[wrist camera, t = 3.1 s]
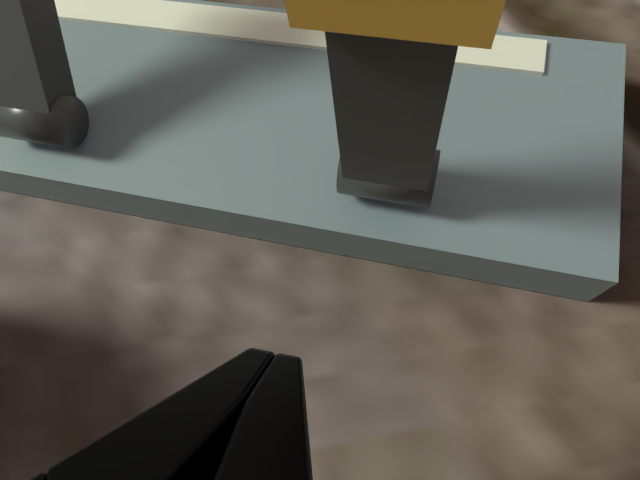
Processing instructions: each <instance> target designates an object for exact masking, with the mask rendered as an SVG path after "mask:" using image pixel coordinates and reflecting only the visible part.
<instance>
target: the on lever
mask: <svg viewBox="0 0 640 480" xmlns="http://www.w3.org/2000/svg"><path fill="white" fill-rule="evenodd" d="M88 129H89V115H88V111H87V108H86V106H85V105H84V103H83V102H82V101H81V100H80V99H79V98H77V96H76V92H75V88H74V83H73V79H72V75H71V70H70V66H69V62H68V57H67V53H66V49H65V44H64V40H63V36H62V31H61V27H60V23H59V18H58V14H57V10H56V5H55V1H54V0H0V137H5V138H11V139H17V140H23V141H29V142H35V143H41V144H47V145H53V146H59V147H65V148H76V147H78V146H79V145H81V144H82V143H83V141H84V140H85V138H86V136H87V133H88Z"/></svg>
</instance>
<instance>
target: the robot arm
mask: <svg viewBox="0 0 640 480" xmlns="http://www.w3.org/2000/svg"><path fill="white" fill-rule="evenodd" d="M30 480H313V477H312V466H311V455H310V444H309V433H308V422H307V411H306V400H305V388H304V377H303V366H302V360H301V358H299V357H296V356H291V355H286V354H277V355H275V354H274V353H273V352H270V351H265V350H260V349H255V348H250V349H248V350H246V351H244V352H242V353H241V354H239V355H237V356H236V357H234V358H232V359H231V360H229V361H227V362H226V363H224V364H222V365H221V366H219V367H217V368H216V369H214V370H212V371H211V372H209V373H207V374H206V375H204V376H202V377H201V378H199V379H197V380H196V381H194V382H192V383H191V384H189V385H187V386H186V387H184V388H182V389H181V390H179V391H177V392H176V393H174V394H172V395H171V396H169V397H167V398H166V399H164V400H162V401H161V402H159V403H157V404H156V405H154V406H152V407H151V408H149V409H147V410H146V411H144V412H142V413H141V414H139V415H137V416H136V417H134V418H132V419H131V420H129V421H127V422H126V423H124V424H122V425H121V426H119V427H117V428H116V429H114V430H112V431H111V432H109V433H107V434H106V435H104V436H102V437H101V438H99V439H97V440H96V441H94V442H93V443H91V444H89V445H88V446H86V447H84V448H83V449H81V450H79V451H78V452H76V453H74V454H73V455H71V456H69V457H68V458H66V459H64V460H63V461H61V462H59V463H58V464H56V465H54V466H53V467H51V468H50V469H49V470H48V472H47V474H46V473H40V474H39V475H37V476H35V477H34V478H32V479H30Z"/></svg>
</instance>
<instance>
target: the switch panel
mask: <svg viewBox="0 0 640 480" xmlns="http://www.w3.org/2000/svg"><path fill="white" fill-rule="evenodd" d="M54 1H55V5H56V10H57V14H58V18H59V23H60V27H61V31H62V36H63V40H64V44H65V49H66V53H67V57H68V62H69V66H70V70H71V75H72V79H73V83H74V88H75V92H76V96H77V98H79V99H80V100H81V101H82V102H83V103H84V105H85V106H86V108H87V111H88V115H89V129H88V133H87V136H86V138H85V140H84V141H83V143H82V144H81V145H79V146H78V147H76V148H65V147H59V146H53V145H47V144H41V143H35V142H29V141H23V140H17V139H11V138H5V137H0V190H2V191H7V192H12V193H18V194H23V195H28V196H34V197H39V198H44V199H49V200H55V201H60V202H65V203H70V204H76V205H81V206H86V207H91V208H97V209H102V210H107V211H112V212H118V213H123V214H128V215H134V216H139V217H144V218H149V219H155V220H160V221H165V222H170V223H176V224H181V225H186V226H191V227H197V228H202V229H207V230H213V231H218V232H223V233H228V234H234V235H239V236H244V237H249V238H255V239H260V240H265V241H270V242H276V243H281V244H286V245H291V246H297V247H302V248H307V249H313V250H318V251H323V252H328V253H334V254H339V255H344V256H349V257H355V258H360V259H365V260H370V261H376V262H381V263H386V264H391V265H397V266H402V267H407V268H413V269H418V270H423V271H428V272H434V273H439V274H444V275H449V276H455V277H460V278H465V279H470V280H476V281H481V282H486V283H491V284H497V285H502V286H507V287H513V288H518V289H523V290H528V291H534V292H539V293H544V294H549V295H555V296H560V297H565V298H570V299H576V300H581V301H586V302H589V301H590V300H592V299H593V298H595V297H597V296H598V295H600V294H601V293H603V292H604V291H606V290H608V289H609V288H611V287H612V286H614V285H616V284H617V283H618V281H619V249H620V217H621V185H622V154H623V122H624V90H625V58H626V44H619V43H609V42H600V41H590V40H580V39H570V38H561V37H551V36H541V35H531V34H521V33H512V32H502V31H496V35H495V38H494V41H493V44H492V48H491V49H482V48H473V47H463V46H458V50H457V54H456V59H455V64H454V68H453V73H452V78H451V82H450V87H449V91H448V96H447V101H446V105H445V110H444V115H443V119H442V124H441V129H440V133H439V138H438V143H437V147H436V149H437V150H441V152H440V159H439V165H438V170H437V176H436V181H435V186H434V191H433V196H432V201H431V205H430V209H429V208H423V207H417V206H411V205H405V204H399V203H393V202H387V201H381V200H375V199H369V198H363V197H357V196H351V195H345V194H339V193H337V188H336V181H337V170H338V163H339V158H340V152H339V144H338V136H337V128H336V120H335V112H334V103H333V95H332V87H331V79H330V71H329V63H328V55H327V47H326V38H325V31H316V30H307V29H298V28H290V26H289V21H288V17H287V12H286V9H277V8H267V7H257V6H248V5H238V4H228V3H218V2H208V1H199V0H54Z"/></svg>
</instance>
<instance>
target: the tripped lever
mask: <svg viewBox="0 0 640 480" xmlns="http://www.w3.org/2000/svg"><path fill="white" fill-rule="evenodd" d="M505 1H506V0H284V2H285V7H286V12H287V17H288V21H289V26H290V28H298V29H307V30H316V31H325V38H326V47H327V55H328V63H329V71H330V79H331V87H332V95H333V103H334V112H335V120H336V128H337V136H338V144H339V152H340V158H339V163H338V170H337V181H336V188H337V193H339V194H345V195H351V196H357V197H363V198H369V199H375V200H381V201H387V202H393V203H399V204H405V205H411V206H417V207H423V208H429V209H430V205H431V201H432V196H433V191H434V186H435V181H436V176H437V170H438V165H439V159H440V152H441V150H437V149H436V147H437V143H438V138H439V133H440V129H441V124H442V119H443V115H444V110H445V105H446V101H447V96H448V91H449V87H450V82H451V78H452V73H453V68H454V64H455V59H456V54H457V50H458V46H463V47H473V48H482V49H491V48H492V44H493V41H494V38H495V35H496V31H497V28H498V25H499V21H500V18H501V15H502V11H503V8H504V5H505Z"/></svg>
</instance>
